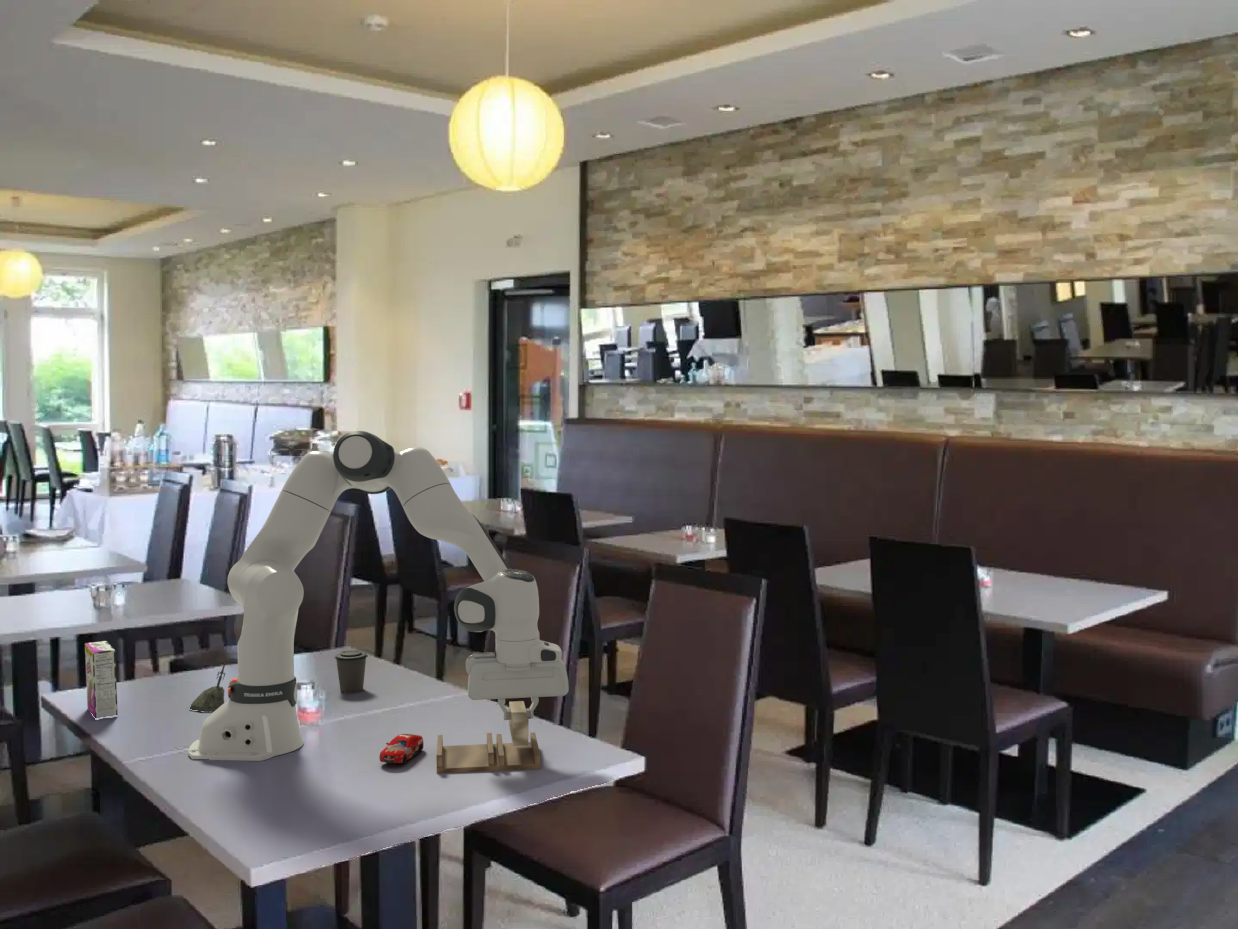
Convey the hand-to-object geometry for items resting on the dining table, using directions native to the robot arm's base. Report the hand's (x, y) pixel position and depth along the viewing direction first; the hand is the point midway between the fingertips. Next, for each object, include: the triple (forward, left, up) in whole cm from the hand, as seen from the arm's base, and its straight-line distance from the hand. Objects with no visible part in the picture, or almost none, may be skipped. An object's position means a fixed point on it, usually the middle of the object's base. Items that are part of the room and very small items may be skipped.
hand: (518, 718), depth 224 cm
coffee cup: (-38, +57, -8) cm, 69 cm away
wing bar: (0, 0, -3) cm, 3 cm away
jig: (-6, 0, -8) cm, 10 cm away
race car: (-24, -1, -10) cm, 25 cm away
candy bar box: (-93, +43, -8) cm, 102 cm away
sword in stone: (-69, +45, -8) cm, 83 cm away
